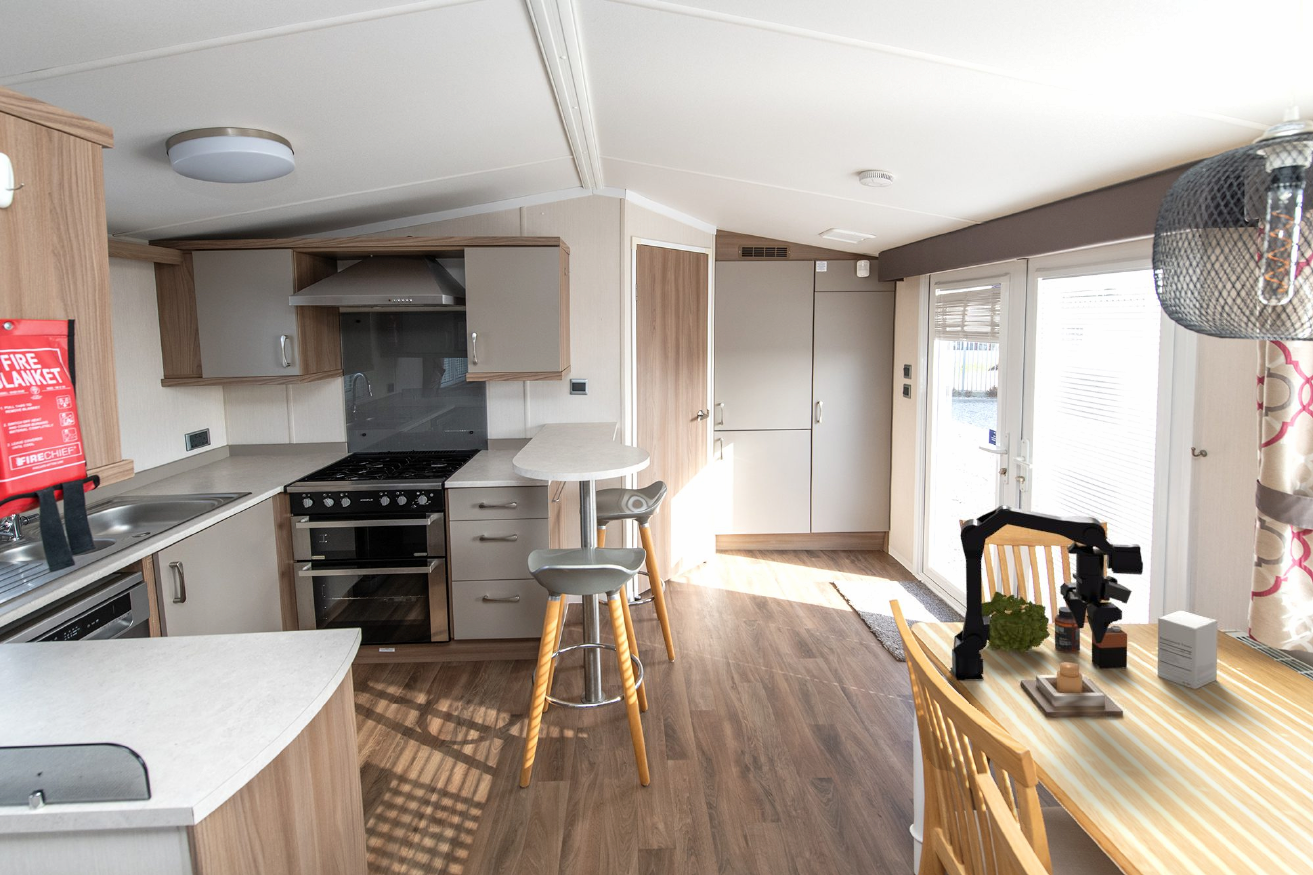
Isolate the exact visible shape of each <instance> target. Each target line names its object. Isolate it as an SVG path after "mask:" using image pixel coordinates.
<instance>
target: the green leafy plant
mask: <svg viewBox="0 0 1313 875" xmlns="http://www.w3.org/2000/svg"><path fill="white" fill-rule="evenodd" d="M991 598H992V599H991V601H989V600H988V601H986V602H985V601H984V602H982V612H983V615H984V617H987V616H989V617H990V627H989V630H990V641H987V646H988V648H989V649H991V650H1000V649H1003V650H1004V651H1007V652H1010V651H1011V649H1014V650H1015V651H1016V652H1020V653H1023V654H1025V653H1027V652H1028V651H1029V649H1032V648H1038V647H1040V646H1042V645H1041V644H1043V642H1044V640H1046V639H1048V638H1049V637H1050V635H1051V634H1050V632H1049V631H1048V630H1049V627H1048V626H1049V620H1050V619H1049V617H1047V615H1045V614H1046V605H1042V604H1036V603H1033V602H1032V601H1031V600H1029V602H1028V601H1026V600H1025V599H1024V597H1023V596H1020V598H1019V599H1018V597H1015V595H1014V594H1010V595H1009V596H1007V594H1003V593H1001V592H1000V591H995V592H994V593H993V596H992V597H991ZM1023 606H1024V607H1023ZM1007 611H1009V612H1010V613H1009V612H1007Z"/></svg>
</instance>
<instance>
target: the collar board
mask: <svg viewBox="0 0 1313 875" xmlns="http://www.w3.org/2000/svg"><path fill="white" fill-rule="evenodd" d="M1081 674H1082V693H1058V692H1057V674H1037V675H1035V679H1021V680H1020V685H1021V687H1022V688H1023V690H1024V691H1025V693H1027V694H1028V696H1029V697H1030V698H1031V699H1032V700H1033V702H1034V703H1035V704H1036V705H1037V707H1038V708H1039V709H1040V710H1041V712H1042V713H1043V714H1044V715H1045V717H1046V718H1065V717H1066V718H1073V717H1074V718H1079V717H1080V718H1081V717H1085V718H1087V717H1089V718H1090V717H1124V710H1122V708H1120V706H1119V705H1118V704H1116V703H1115V701H1113V700H1112V699H1111V697H1109V696H1108V695H1107V694H1106V692H1104V691H1103V690H1102V689H1101V688H1100V687H1099V686H1098V685H1097V684H1096V683H1095V682H1094V681H1093V680H1092V679H1091V678H1088V677H1086V675H1085V674H1083V673H1081Z"/></svg>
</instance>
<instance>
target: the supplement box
mask: <svg viewBox="0 0 1313 875" xmlns="http://www.w3.org/2000/svg"><path fill="white" fill-rule="evenodd" d="M1217 676H1218V620H1217V619H1214V618H1213V619H1212V618H1209V617H1205V616H1201V615H1198V614H1195V613H1192V612H1187V611H1184V610H1177V611H1174V612H1171V613H1169V614H1166V615H1164V616H1160V617H1158V618H1157V677H1159V678H1162V679H1165V680H1168V681H1170V682H1173V683H1176V684H1179V685H1181V686H1184V685H1185V687H1187V686H1188V688H1190V687H1191V688H1190V689H1193V690H1197V689H1198V688H1201V687H1204V686H1206V685H1207V684H1211V683H1213V682H1214V681H1217V679H1218V678H1217Z"/></svg>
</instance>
